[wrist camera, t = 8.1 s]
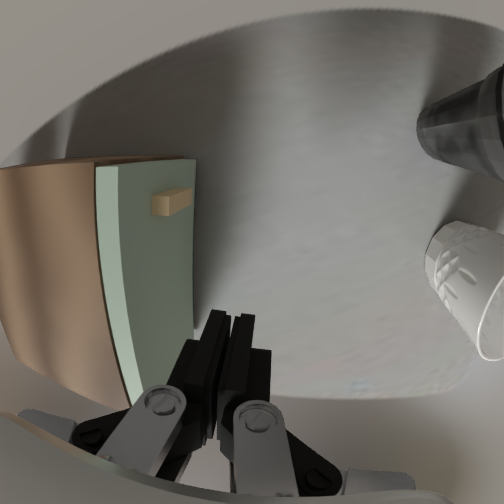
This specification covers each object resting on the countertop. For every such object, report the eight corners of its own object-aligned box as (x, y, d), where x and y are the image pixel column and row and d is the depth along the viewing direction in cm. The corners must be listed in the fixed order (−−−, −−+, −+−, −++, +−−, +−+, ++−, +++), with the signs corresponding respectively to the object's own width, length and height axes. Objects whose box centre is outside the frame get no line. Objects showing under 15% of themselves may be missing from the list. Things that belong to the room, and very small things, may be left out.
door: (181, 340, 25) (138, 422, 16) (181, 159, 20) (96, 167, 10) (204, 345, 25) (166, 431, 15) (209, 160, 20) (138, 166, 10)
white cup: (405, 243, 20) (470, 300, 11) (470, 197, 18) (549, 227, 9) (431, 311, 22) (480, 379, 13) (489, 268, 20) (550, 316, 10)
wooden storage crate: (77, 304, 27) (16, 358, 16) (64, 158, 21) (-27, 174, 11) (180, 331, 26) (132, 416, 15) (182, 156, 20) (93, 162, 10)
